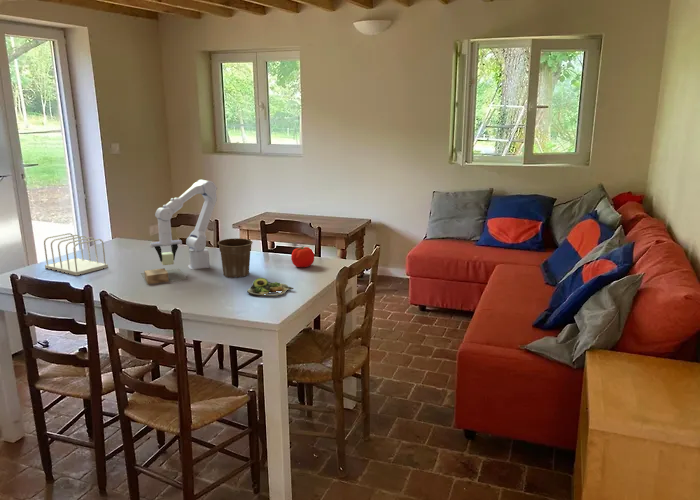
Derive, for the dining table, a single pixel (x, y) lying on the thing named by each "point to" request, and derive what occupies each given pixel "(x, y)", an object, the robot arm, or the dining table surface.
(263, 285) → the salad plate
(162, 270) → the walnut base block
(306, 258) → the tomato
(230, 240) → the plant pot
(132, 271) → the dining table surface
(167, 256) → the sage cube
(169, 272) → the building mat
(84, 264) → the file sorter
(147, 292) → the dining table surface
